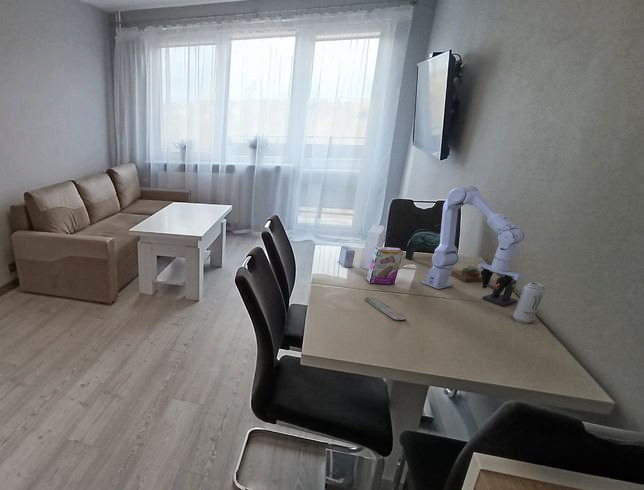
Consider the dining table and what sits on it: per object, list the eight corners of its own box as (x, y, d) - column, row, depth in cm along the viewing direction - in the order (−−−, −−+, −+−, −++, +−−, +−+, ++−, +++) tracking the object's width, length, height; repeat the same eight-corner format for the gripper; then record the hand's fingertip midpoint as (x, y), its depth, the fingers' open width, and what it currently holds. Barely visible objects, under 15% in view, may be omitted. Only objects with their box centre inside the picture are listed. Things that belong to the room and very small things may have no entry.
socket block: (464, 282, 192) (466, 274, 191) (450, 274, 200) (453, 267, 199) (487, 281, 194) (490, 273, 192) (473, 274, 202) (476, 266, 200)
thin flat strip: (373, 298, 174) (373, 296, 173) (407, 319, 155) (407, 317, 155) (362, 299, 173) (362, 297, 173) (395, 320, 154) (395, 318, 154)
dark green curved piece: (446, 263, 215) (458, 226, 207) (446, 267, 210) (457, 229, 202) (404, 256, 225) (413, 220, 217) (403, 259, 220) (412, 222, 212)
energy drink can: (523, 324, 155) (538, 288, 149) (508, 317, 160) (522, 281, 154) (535, 322, 156) (551, 286, 150) (519, 315, 161) (534, 280, 155)
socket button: (470, 272, 194) (471, 269, 193) (464, 269, 197) (465, 266, 196) (478, 272, 194) (479, 269, 193) (472, 269, 198) (473, 266, 197)
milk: (371, 270, 203) (381, 227, 194) (360, 267, 207) (369, 224, 198) (377, 268, 206) (388, 225, 197) (366, 264, 211) (376, 222, 202)
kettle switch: (497, 292, 165) (499, 287, 164) (484, 288, 170) (486, 282, 169) (513, 287, 170) (515, 282, 169) (500, 283, 174) (502, 277, 173)
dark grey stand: (502, 306, 169) (510, 284, 165) (482, 298, 175) (489, 277, 171) (516, 302, 173) (524, 280, 169) (496, 295, 179) (503, 274, 175)
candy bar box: (369, 284, 187) (377, 249, 181) (366, 279, 192) (373, 246, 185) (395, 285, 186) (404, 251, 180) (391, 281, 191) (399, 247, 184)
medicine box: (352, 267, 206) (355, 251, 203) (343, 267, 207) (346, 250, 203) (346, 262, 214) (349, 246, 210) (338, 261, 214) (341, 245, 210)
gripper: (529, 263, 158) (517, 295, 163) (489, 251, 170) (479, 282, 175) (519, 265, 155) (507, 298, 161) (479, 254, 167) (469, 284, 172)
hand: (492, 290), depth 168 cm, fingers closed on kettle switch, 5 cm apart
